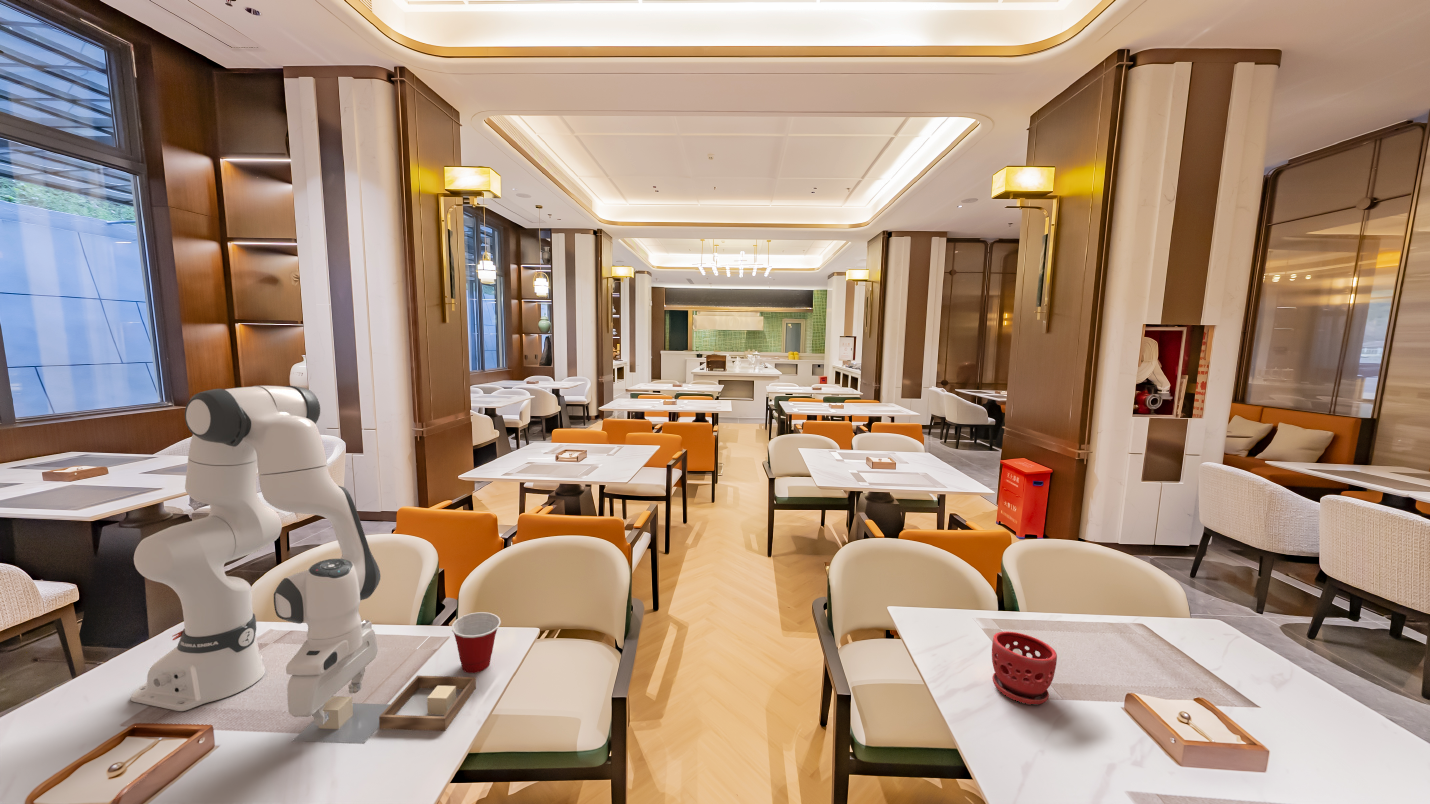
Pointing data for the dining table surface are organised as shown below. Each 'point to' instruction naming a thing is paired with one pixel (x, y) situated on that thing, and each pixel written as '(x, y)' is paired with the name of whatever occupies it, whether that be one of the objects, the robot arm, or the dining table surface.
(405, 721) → the walnut bin
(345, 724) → the slate board
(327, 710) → the cream wooden cube
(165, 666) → the robot arm
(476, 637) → the plastic cup
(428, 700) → the beige block
